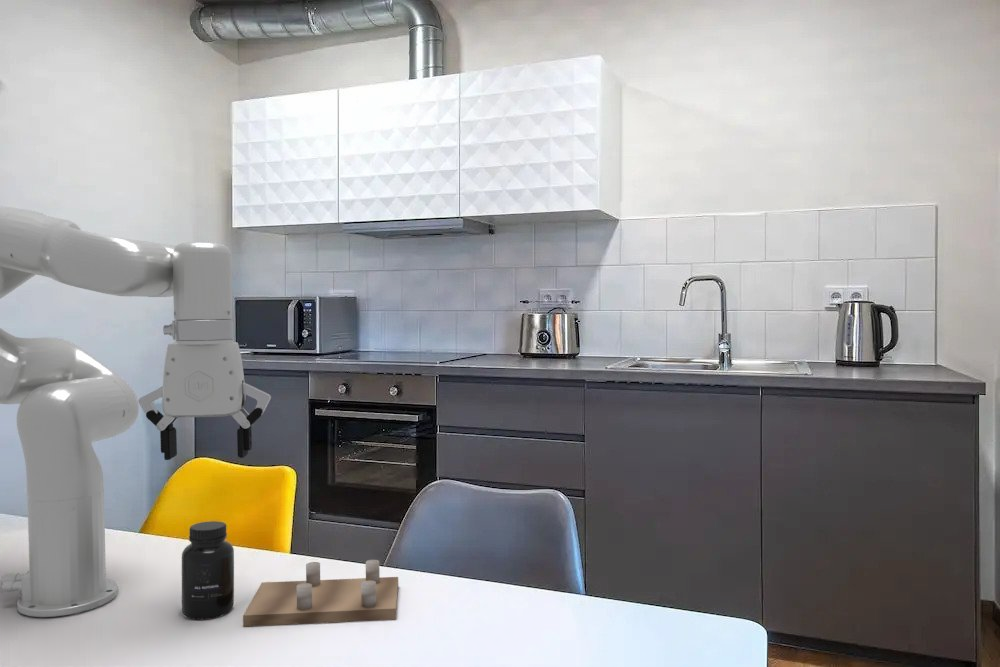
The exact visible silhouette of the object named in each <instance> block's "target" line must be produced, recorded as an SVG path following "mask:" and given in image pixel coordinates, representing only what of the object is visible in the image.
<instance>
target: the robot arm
mask: <svg viewBox="0 0 1000 667" xmlns="http://www.w3.org/2000/svg"><path fill="white" fill-rule="evenodd" d="M232 265H233V264H232V253H231V250H230V248H229V247H228V246H227V245H225V244H223V243H218V242H211V241H210V242H209V241H208V242H206V241H190V242H189V241H188V242H182V243H178V244H176V245H172V244H168V243H167V244H165V243H158V242H154V241H153V242H151V241H144V240H137V239H128V238H123V237H122V238H121V237H115V236H110V235H106V234H100V233H96V232H91V231H87V230H82V229H81V227H79V226H78V224H77V223H75V222H73V221H71V220H69V219H68V220H67V219H65V218H64V219H63V218H60V217H59V218H58V217H54V216H50V215H46V214H44V213H42V212H40V211H35V210H29V209H23V208H16V207H10V206H3V205H0V300H1V299H2V298H5V297H6V296H7V295H9V294H10V293H12V292H13V291H15V290H17V289H18V288H19V287H21V286H22V285H23V284H25V283H26V282H28V281H29V280H30V279H32V278H33V277H35V276H42V277H46V278H49V279H52V280H54V281H56V282H58V283H61V284H64V285H68V286H70V287H74V288H80V289H82V290H88V291H91V292H92V291H93V292H96V293H101V294H104V295H105V294H106V295H109V296H110V295H111V296H117V297H147V298H168V297H169V298H170V297H172V298H173V320H172V322H171V323H170V324H164V325H163V327H162V330H163V335H164V336H171V337H172V340H174V342H173V343H169V344H167V348H166V351H165V352H166V353H165V359H164V369H163V379H162V380H163V381H162V386H161V387H158V388H157V389H155V390H153V391H151V392H149V393H147V394H145V395H143V396H142V397H140V398H139V399H138V398H137V396H136V393H135V391H134V389H133V388H132V386H130V384H128V382H127V381H126V380H125V379H124V378H122V376H120V375H118V374H117V373H116V372H114V371H113V370H112V369H110V368H109V367H108V366H106V365H105V364H104V363H102V362H101V361H99V360H98V359H97V358H96V357H94V356H92V354H90V353H88V351H86V350H84V349H83V348H82V347H80V346H78V345H77V344H75V343H73V342H70V341H69V340H65V339H62V338H58V337H34V338H33V337H28V338H27V337H18V336H16V335H13V334H11V333H8V332H7V331H5V330H4V329H2V328H1V327H0V405H19V406H18V408H17V412H16V427H17V429H16V430H17V433H18V436H19V440H20V444H21V447H22V453H23V457H24V458H23V459H24V464H25V465H24V466H25V473H26V474H25V475H26V498H27V525H28V526H27V528H28V529H27V530H28V533H27V534H28V562H29V566H28V571H27V572H25V573H20V572H15V573H14V572H13V573H11V572H8V573H4V574H3V576H2V579H1V591H2V592H4V593H5V592H14V591H16V592H17V591H19V592H20V593H21V596H20V597H19V598H18V600H17V601H16V602H17V603H16V606H17V611H18V612H19V613H20V614H21V615H25V616H27V617H33V618H52V617H53V618H55V617H63V616H64V617H65V616H68V615H74V614H79V613H83V612H86V611H90V610H93V609H96V608H98V607H101V606H103V605H105V604H107V603H109V602H111V601H112V600H113V599H114V598H115V597H117V595H118V593H119V585H118V584H119V583H117V581H116V580H113V579H110V578H107V567H106V564H107V563H106V527H105V525H106V524H105V521H106V520H105V488H104V485H105V483H104V482H105V481H104V472H103V468H102V465H101V462H100V460H99V458H98V456H97V454H96V451H95V450H94V447H93V443H95V442H99V441H102V440H106V439H110V438H114V437H116V436H119V435H121V434H123V433H125V432H126V431H128V430H129V429H130V428H132V426H133V425H134V423H136V421H137V419H138V415H139V409H140V408H139V407H141V409H142V411H143V412H144V414H145V417H146V419H147V420H149V421H150V423H152V424H153V425H154V426H155V428H156V430H157V431H160V432H159V434H160V435H159V436H160V452H161V453H162V454H163V453H164V454H163V455H164V456H163V457H164V461H170V460H171V459H173V458H175V457H176V456H177V455H178V449H177V448H178V443H177V441H178V440H177V439H178V438H177V428H176V427H174V424H175V422H176V421H177V420H178V418H211V417H213V418H215V417H217V418H218V417H229V416H231V417H232V418H233V419H234V420H235V421H236V423H237V424H238V425H239V428H238V429H237V432H236V436H237V437H236V438H237V440H236V441H237V457H238V458H240V459H243V458H245V457H246V456H247V455H248V453H249V451H251V450H252V447H253V445H252V426H253V425H254V424H255V423H256V422H257V420H258V419H260V417H262V416H263V415H264V413H265V411H266V409H267V407H268V405H269V403H270V400H271V399H272V395H271V394H269V393H267V392H265V391H263V390H260V389H259V388H257V387H255V386H252V385H251V384H249V383H246V381H245V374H244V366H243V361H242V360H243V359H242V354H241V350H240V345H239V343H238V342H236V341H235V342H234V324H233V323H234V321H233V320H234V319H233V317H234V316H233V281H232V280H233V274H232V271H233V270H232V269H233V268H232ZM246 396H248V397H250V398H252V399H255V400H256V405H255V408H254V409H253V410H252V411H251V412H250V413H249V412H248V411H247V410H246V409H245V406H246V400H247V399H246V398H247V397H246ZM161 398H162V400H161V403H162V412H163V414H162V413H161V411H159V410H158V409H157V408H156V405H155V402H156V401H157V400H160V399H161ZM139 405H140V406H139Z"/></svg>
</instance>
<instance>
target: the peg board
mask: <svg viewBox="0 0 1000 667" xmlns="http://www.w3.org/2000/svg"><path fill="white" fill-rule="evenodd" d="M398 593H399V576H385V577H380V560H378V559H368V560H366V561H365V577H362V578H360V577H359V578H342V579H341V578H338V579H337V578H336V579H321V563H320V562H318V561H311V562H307V563H306V564H305V580H293V581H291V580H289V581H288V580H287V581H286V580H285V581H265V582H261V583H260V585H259V587H258V588H257V590H256V591H255V594H254V595H253V597H252V599H251V601H250V603H249V604H248V606H247V607H246V610H245V611H244V613H243V615H242V627H244V628H245V627H263V626H264V627H265V626H283V625H284V626H286V625H287V626H288V625H289V626H290V625H307V624H308V625H309V624H327V623H328V624H329V623H345V622H346V623H348V622H367V621H368V622H369V621H373V622H374V621H391V620H393V621H394V620H397V609H398V597H399V594H398Z"/></svg>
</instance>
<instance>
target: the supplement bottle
mask: <svg viewBox="0 0 1000 667" xmlns="http://www.w3.org/2000/svg"><path fill="white" fill-rule="evenodd" d="M227 537H228V533H227V524H226V523H225V522H223V521H213V520H212V521H210V520H209V521H203V522H202V521H201V522H196V523H194V524H192V525H191V526H189V536H188V541H189V543H190V544H188V545H187V546H185V548H184V549H183V551H182V553H181V612H182V614H183V616H184V617H186V618H188V619H191V620H198V621H199V620H209V619H216V618H220V617H221V616H225V615H227V614H228V613H230V612H231V611H232V609H233V608H234V605H235V604H234V603H235V600H234V599H235V548H234V547H233V545H232V543H231V542H229V541H227V540H226V539H227Z"/></svg>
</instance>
